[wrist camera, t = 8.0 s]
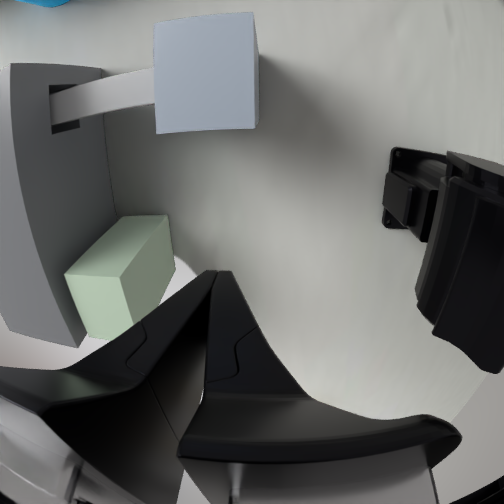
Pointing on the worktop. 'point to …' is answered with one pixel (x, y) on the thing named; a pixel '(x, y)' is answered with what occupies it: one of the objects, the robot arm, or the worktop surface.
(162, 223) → the green key
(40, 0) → the mug
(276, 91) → the worktop surface
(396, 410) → the worktop surface
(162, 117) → the grey key
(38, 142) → the grey curved block
